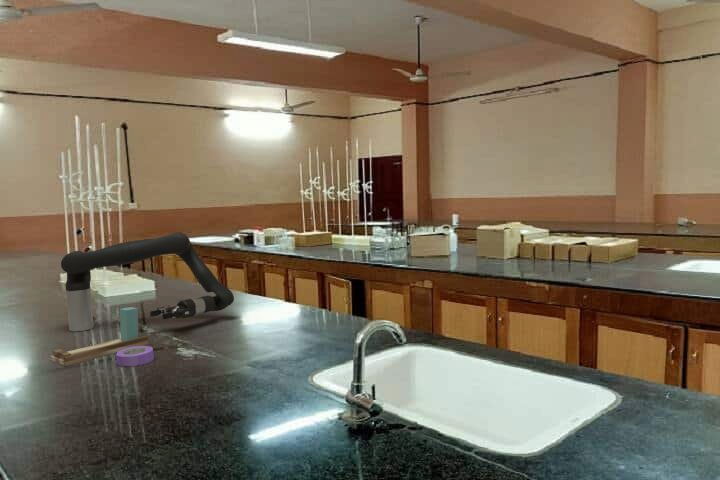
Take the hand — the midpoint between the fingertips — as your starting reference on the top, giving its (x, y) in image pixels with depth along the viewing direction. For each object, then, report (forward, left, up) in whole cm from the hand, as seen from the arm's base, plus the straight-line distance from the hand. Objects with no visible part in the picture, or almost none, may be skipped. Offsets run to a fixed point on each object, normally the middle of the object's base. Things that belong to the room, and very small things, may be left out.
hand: (156, 315), depth 213 cm
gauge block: (0, -12, -7) cm, 14 cm away
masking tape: (+21, -22, -9) cm, 32 cm away
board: (0, -23, -9) cm, 24 cm away
